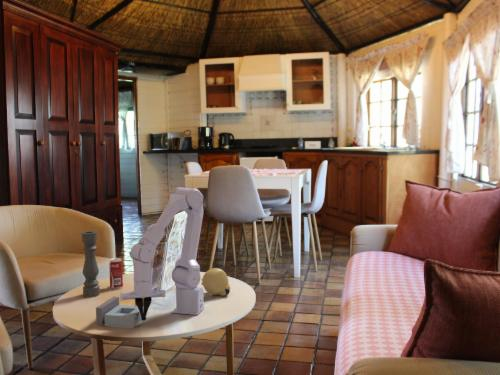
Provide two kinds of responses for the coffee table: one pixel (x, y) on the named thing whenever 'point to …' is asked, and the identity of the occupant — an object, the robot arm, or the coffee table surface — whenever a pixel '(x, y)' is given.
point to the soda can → (116, 273)
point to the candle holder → (90, 265)
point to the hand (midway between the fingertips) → (143, 319)
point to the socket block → (123, 316)
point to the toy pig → (216, 282)
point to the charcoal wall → (105, 310)
